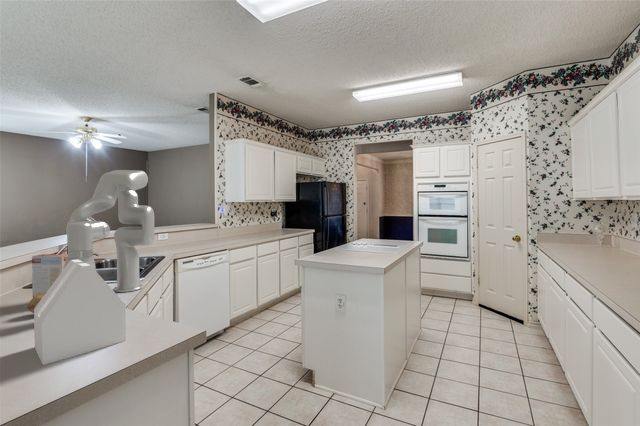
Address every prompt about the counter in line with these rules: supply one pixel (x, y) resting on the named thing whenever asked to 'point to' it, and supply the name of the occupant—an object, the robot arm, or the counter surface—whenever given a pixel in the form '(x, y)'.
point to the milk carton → (77, 315)
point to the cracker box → (46, 271)
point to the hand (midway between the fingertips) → (81, 302)
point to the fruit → (35, 302)
